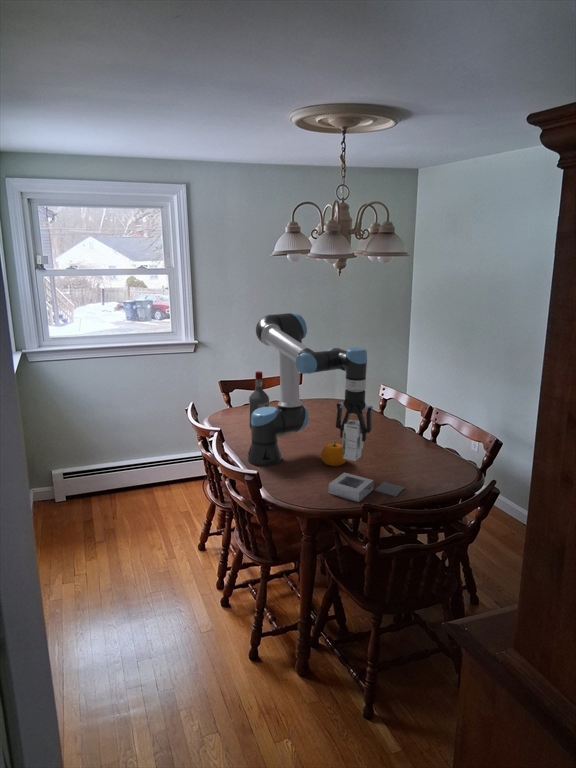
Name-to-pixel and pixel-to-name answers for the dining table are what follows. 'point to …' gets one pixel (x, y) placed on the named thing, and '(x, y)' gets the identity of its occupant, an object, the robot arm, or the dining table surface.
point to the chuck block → (355, 494)
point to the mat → (389, 489)
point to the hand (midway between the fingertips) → (352, 447)
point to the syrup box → (352, 440)
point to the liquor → (257, 396)
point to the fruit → (333, 454)
